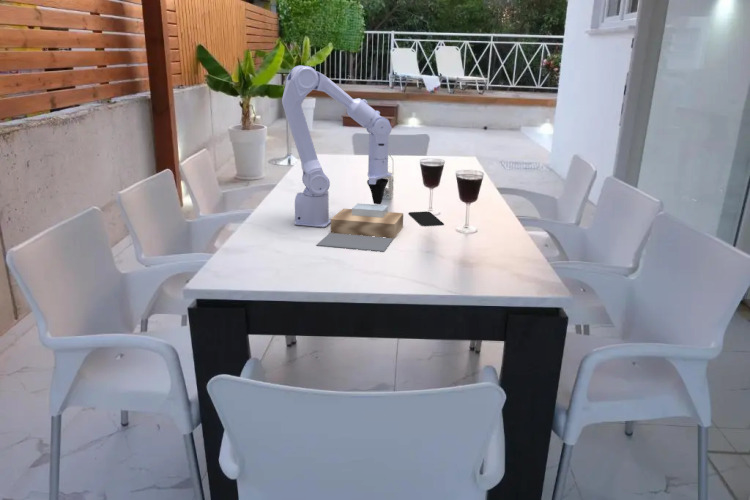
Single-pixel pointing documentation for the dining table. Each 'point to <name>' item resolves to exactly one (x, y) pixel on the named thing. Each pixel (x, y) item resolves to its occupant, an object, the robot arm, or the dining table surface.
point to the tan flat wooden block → (367, 224)
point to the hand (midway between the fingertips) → (377, 203)
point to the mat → (355, 242)
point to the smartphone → (425, 219)
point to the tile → (370, 210)
